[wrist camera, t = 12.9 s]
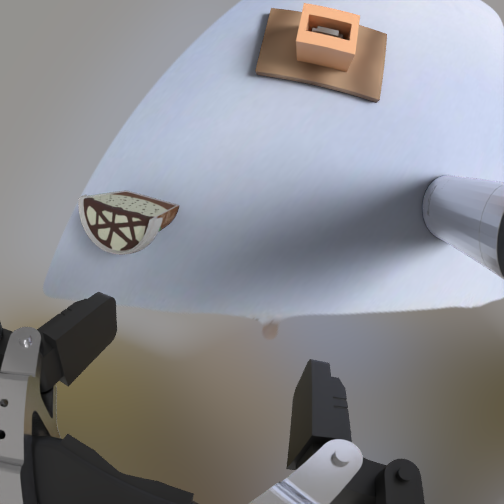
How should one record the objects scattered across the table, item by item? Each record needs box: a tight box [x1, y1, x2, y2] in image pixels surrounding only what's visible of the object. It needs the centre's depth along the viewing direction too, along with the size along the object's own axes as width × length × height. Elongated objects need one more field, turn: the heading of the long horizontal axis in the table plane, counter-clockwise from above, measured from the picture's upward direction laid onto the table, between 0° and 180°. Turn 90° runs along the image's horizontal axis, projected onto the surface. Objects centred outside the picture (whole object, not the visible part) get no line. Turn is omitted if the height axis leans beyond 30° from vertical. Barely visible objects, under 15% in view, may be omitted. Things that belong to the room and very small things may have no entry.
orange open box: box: [296, 3, 360, 72], centre depth 24 cm, size 6×6×6 cm
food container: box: [78, 191, 179, 255], centre depth 34 cm, size 12×6×10 cm, turn 75°
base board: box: [255, 8, 387, 103], centre depth 25 cm, size 16×11×6 cm
